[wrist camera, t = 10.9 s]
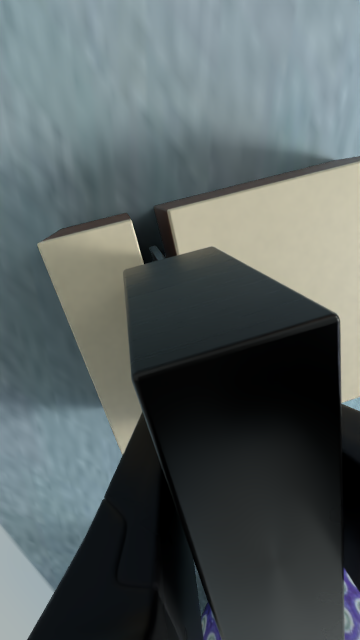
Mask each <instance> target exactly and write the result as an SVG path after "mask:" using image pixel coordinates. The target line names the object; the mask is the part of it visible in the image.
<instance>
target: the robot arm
mask: <svg viewBox="0 0 360 640" xmlns="http://www.w3.org/2000/svg"><path fill="white" fill-rule="evenodd" d="M341 405H342V478H343V551H344V569H345V570H346V572H347V573H348V575H349V577H350V578H351V580H352V581H353V583H354V585H355V586H356V588H357V589H358V591H359V592H360V411H358V410H355V409H353V408H350V407H348V406H346V405H343V404H341ZM27 640H204V638H203V630H202V622H201V614H200V607H199V599H198V591H197V583H196V575H195V567H194V559H193V556H192V553H191V550H190V547H189V544H188V542H187V539H186V536H185V533H184V530H183V527H182V524H181V521H180V518H179V516H178V513H177V510H176V507H175V504H174V501H173V498H172V495H171V492H170V490H169V487H168V484H167V481H166V478H165V475H164V472H163V469H162V466H161V463H160V461H159V458H158V455H157V452H156V449H155V446H154V443H153V440H152V437H151V435H150V432H149V429H148V426H147V423H146V420H145V417H144V414H143V411H142V413H141V416H140V418H139V420H138V422H137V425H136V427H135V429H134V431H133V433H132V436H131V438H130V440H129V442H128V445H127V447H126V449H125V451H124V454H123V456H122V458H121V460H120V462H119V465H118V467H117V469H116V471H115V474H114V476H113V478H112V480H111V483H110V485H109V487H108V489H107V491H106V494H105V496H104V499H103V500H102V502H101V504H100V507H99V509H98V511H97V513H96V516H95V518H94V520H93V522H92V524H91V526H90V528H89V530H88V532H87V534H86V536H85V538H84V540H83V542H82V544H81V546H80V547H79V549H78V551H77V553H76V555H75V557H74V558H73V560H72V562H71V564H70V566H69V567H68V569H67V571H66V573H65V574H64V576H63V578H62V580H61V582H60V583H59V585H58V587H57V589H56V590H55V592H54V594H53V596H52V597H51V599H50V601H49V603H48V604H47V606H46V608H45V610H44V612H43V613H42V615H41V617H40V618H39V620H38V622H37V624H36V625H35V627H34V629H33V631H32V632H31V634H30V636H29V638H28V639H27Z"/></svg>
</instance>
